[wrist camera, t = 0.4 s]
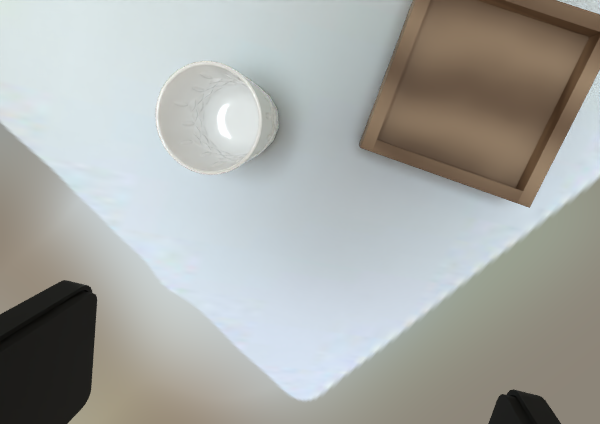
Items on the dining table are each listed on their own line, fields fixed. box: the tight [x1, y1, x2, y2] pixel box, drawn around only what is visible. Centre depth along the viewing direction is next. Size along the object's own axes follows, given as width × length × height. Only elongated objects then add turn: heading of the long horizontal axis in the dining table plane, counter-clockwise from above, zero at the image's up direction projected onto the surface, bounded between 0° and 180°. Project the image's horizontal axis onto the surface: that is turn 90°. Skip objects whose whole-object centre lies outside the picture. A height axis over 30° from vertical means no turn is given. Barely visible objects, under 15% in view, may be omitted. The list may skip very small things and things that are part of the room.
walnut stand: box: [359, 0, 600, 208], centre depth 32 cm, size 14×14×6 cm
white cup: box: [155, 61, 279, 175], centre depth 33 cm, size 8×8×10 cm
